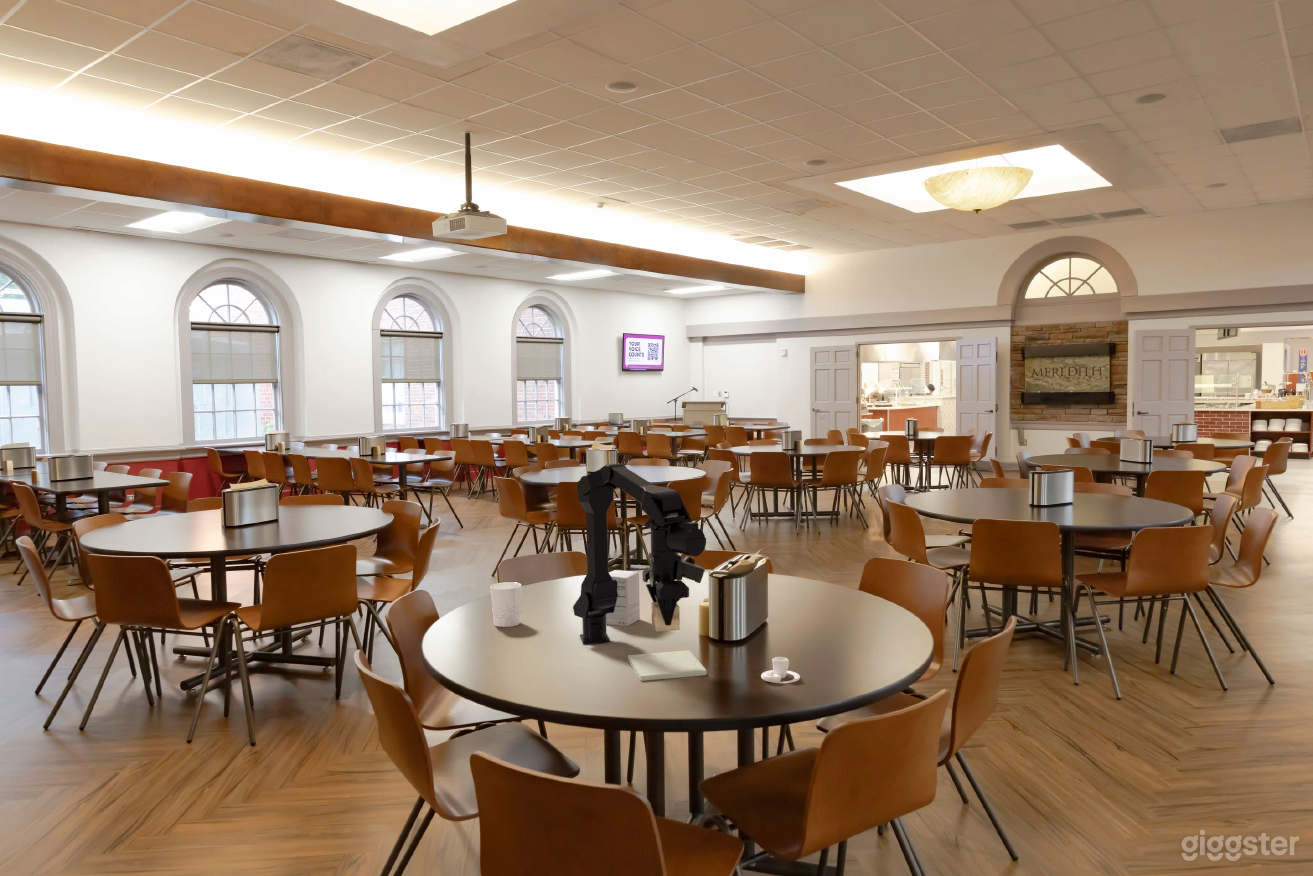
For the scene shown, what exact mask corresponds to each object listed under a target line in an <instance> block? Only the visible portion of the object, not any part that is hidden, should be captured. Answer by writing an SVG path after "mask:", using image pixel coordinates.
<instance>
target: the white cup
mask: <svg viewBox="0 0 1313 876" xmlns="http://www.w3.org/2000/svg"><path fill="white" fill-rule="evenodd" d="M490 600H491V613H492V618H493V622H492V623H493V625H494V626H495V627H498V628H509V627H515V626H518V625H520V623H521V613H522V583H520V582H514V581H512V582H511V581H505V582H504V581H503V582H497V583H494V584H491V585H490Z"/></svg>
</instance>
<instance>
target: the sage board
mask: <svg viewBox="0 0 1313 876" xmlns="http://www.w3.org/2000/svg"><path fill="white" fill-rule="evenodd" d="M627 660H628V662H629V664H630V665H631V667H632V669H633V671H634V672H635V674H636V675H637V677H638V679H639V680H640V681H641V682H643V681H653V680H663V679H664V680H665V679H675V678H688V677H689V678H690V677H697V676H698V677H699V676H707V669H706V668H705V666H703V664H702V663H701V662H700V661H699V660H698V658H697V657H696V656H695V655H694V653H692V651H691V650H689V649H688V650H677V651H676V650H675V651H665V652H664V651H663V652H662V651H661V652H652V653H650V652H649V653H641V654H630V655H629V654H628V655H627Z"/></svg>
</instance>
